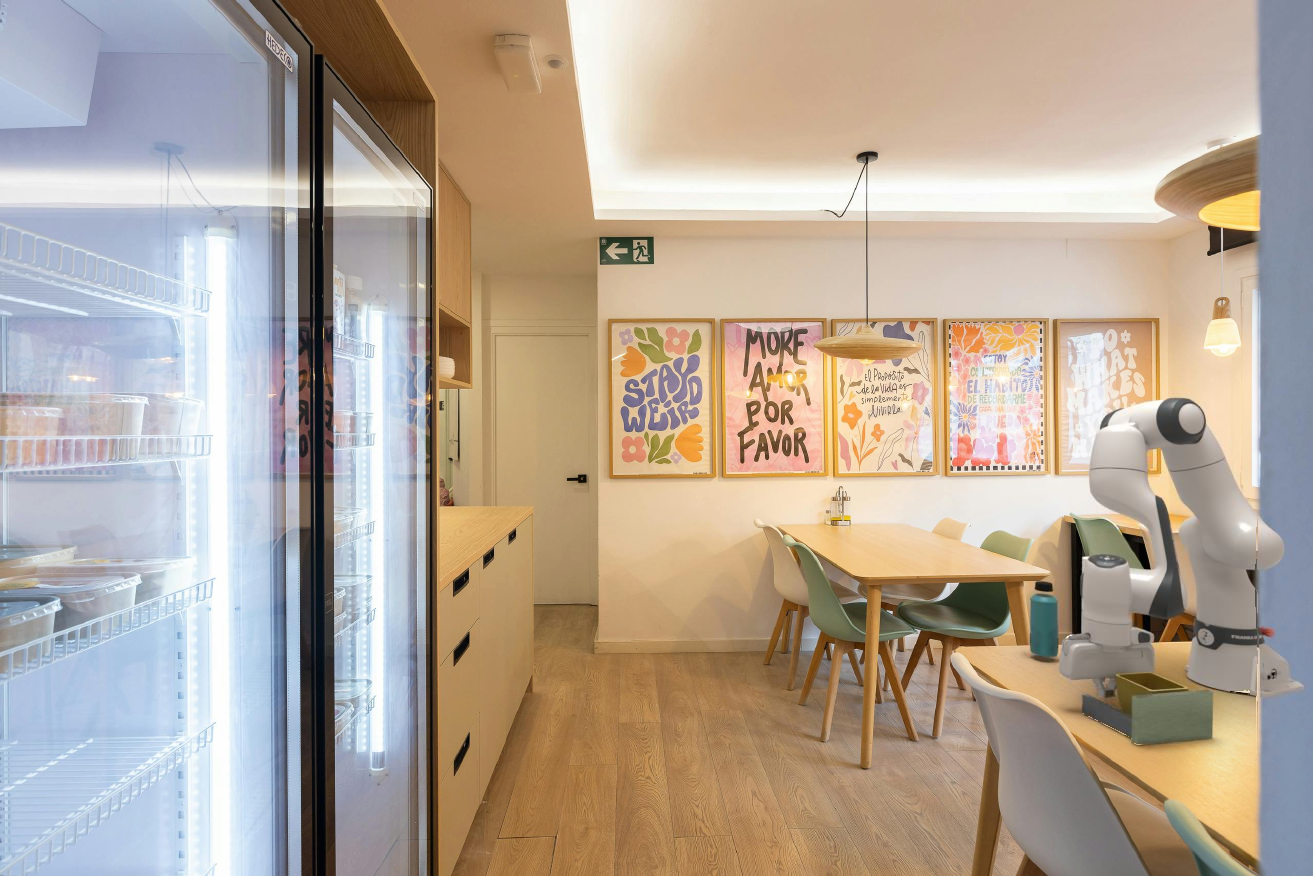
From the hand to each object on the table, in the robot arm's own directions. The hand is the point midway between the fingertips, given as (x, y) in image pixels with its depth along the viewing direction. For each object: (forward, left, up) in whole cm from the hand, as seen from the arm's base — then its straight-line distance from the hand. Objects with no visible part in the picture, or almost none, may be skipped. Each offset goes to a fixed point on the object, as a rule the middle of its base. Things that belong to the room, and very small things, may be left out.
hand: (1106, 696), depth 143 cm
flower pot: (-2, +9, -3) cm, 9 cm away
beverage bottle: (-10, -29, -3) cm, 31 cm away
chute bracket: (0, +9, -2) cm, 9 cm away
